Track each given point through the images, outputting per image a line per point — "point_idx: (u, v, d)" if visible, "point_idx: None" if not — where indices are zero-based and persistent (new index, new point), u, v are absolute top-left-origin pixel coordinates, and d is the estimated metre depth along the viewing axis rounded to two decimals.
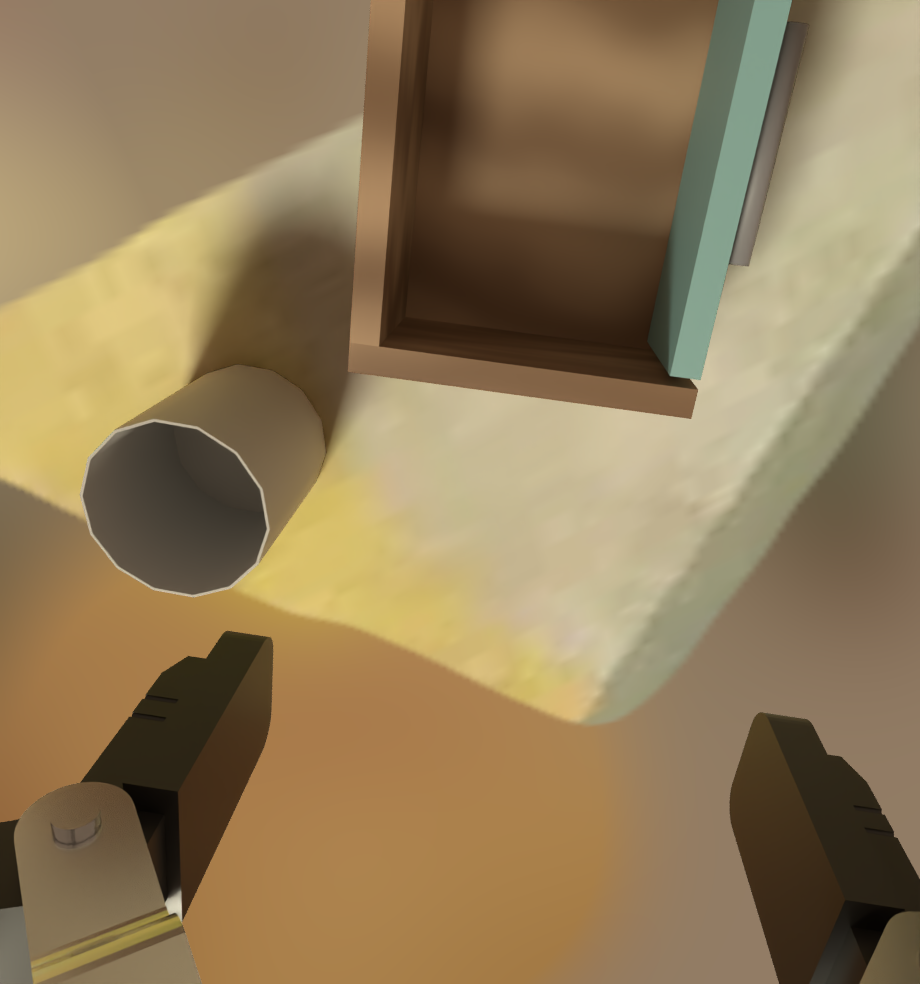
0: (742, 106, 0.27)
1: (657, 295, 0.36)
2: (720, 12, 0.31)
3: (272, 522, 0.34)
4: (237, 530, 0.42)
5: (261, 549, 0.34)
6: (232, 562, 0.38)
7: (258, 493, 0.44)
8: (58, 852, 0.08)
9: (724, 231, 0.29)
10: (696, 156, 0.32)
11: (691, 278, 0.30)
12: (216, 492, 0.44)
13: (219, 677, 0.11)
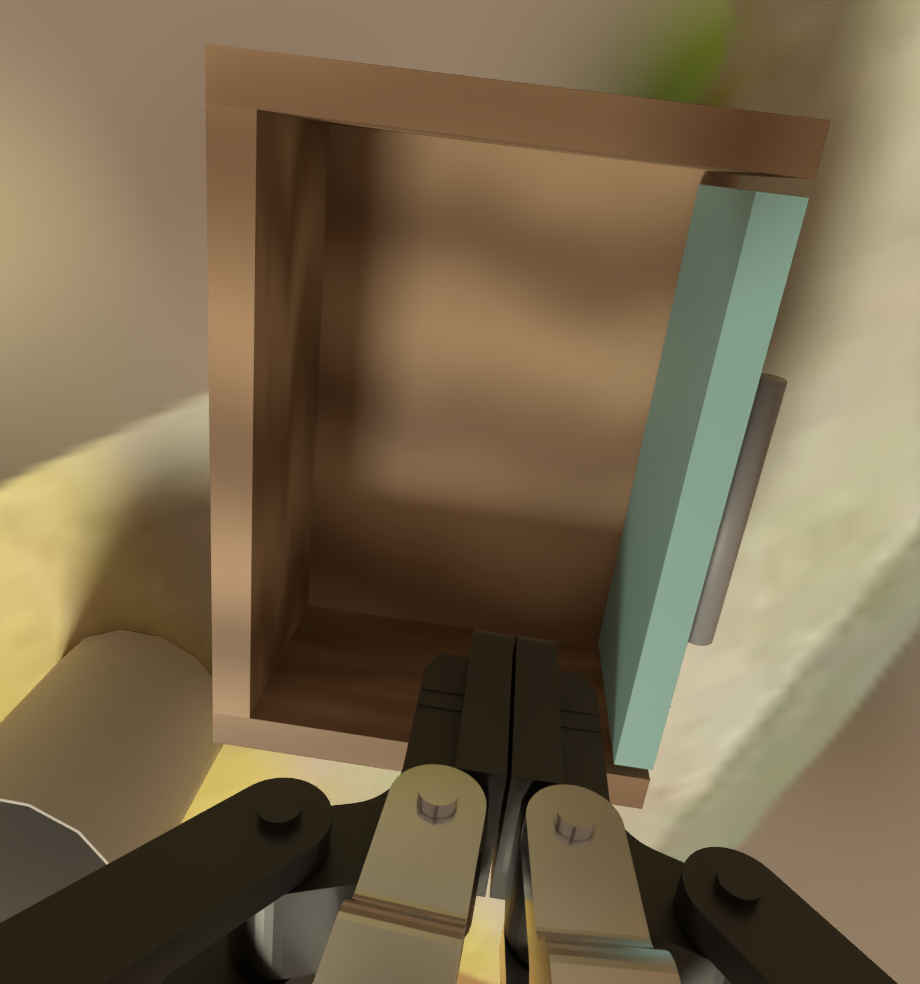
0: (699, 482, 0.21)
1: (609, 596, 0.30)
2: (679, 301, 0.25)
3: None
4: None
5: None
6: None
7: None
8: (437, 829, 0.09)
9: (679, 616, 0.22)
10: (649, 475, 0.25)
11: (638, 662, 0.23)
12: None
13: (490, 672, 0.12)
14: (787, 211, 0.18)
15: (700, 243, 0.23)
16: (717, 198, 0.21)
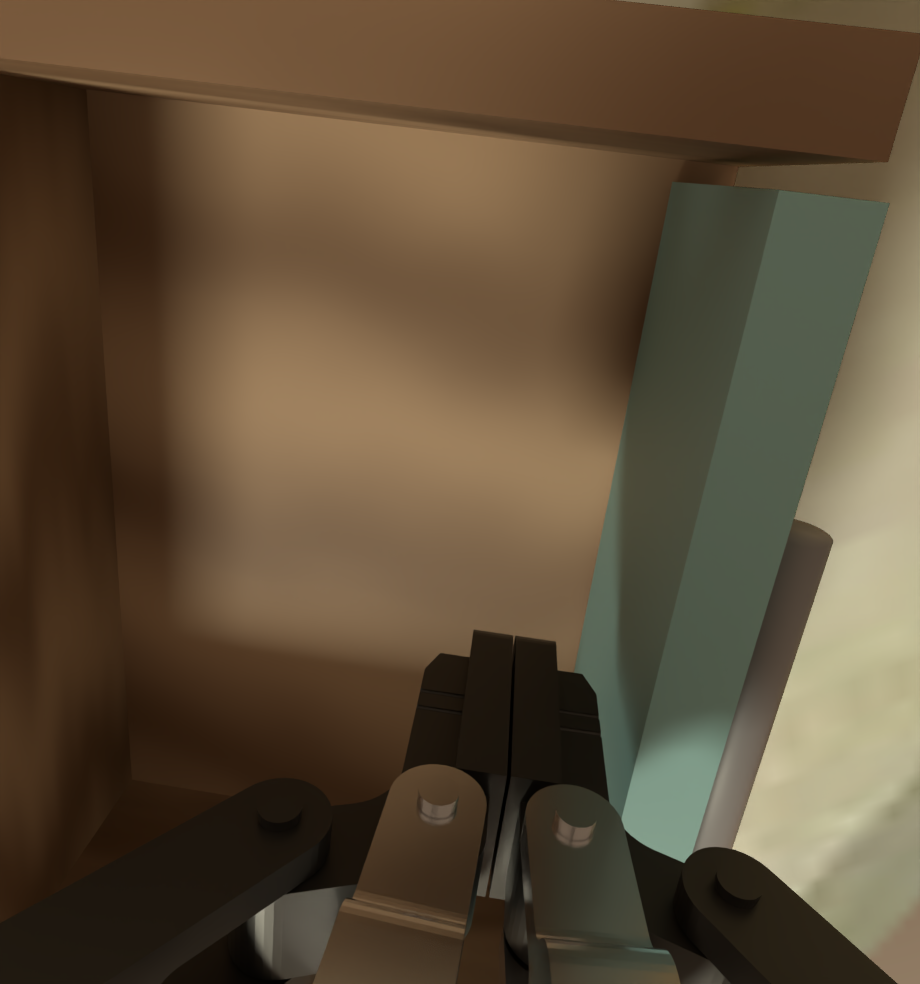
0: (674, 720, 0.11)
1: None
2: (643, 369, 0.15)
3: None
4: None
5: None
6: None
7: None
8: (437, 829, 0.09)
9: None
10: (600, 643, 0.16)
11: None
12: None
13: (490, 672, 0.12)
14: (843, 231, 0.09)
15: (674, 280, 0.13)
16: (701, 204, 0.12)
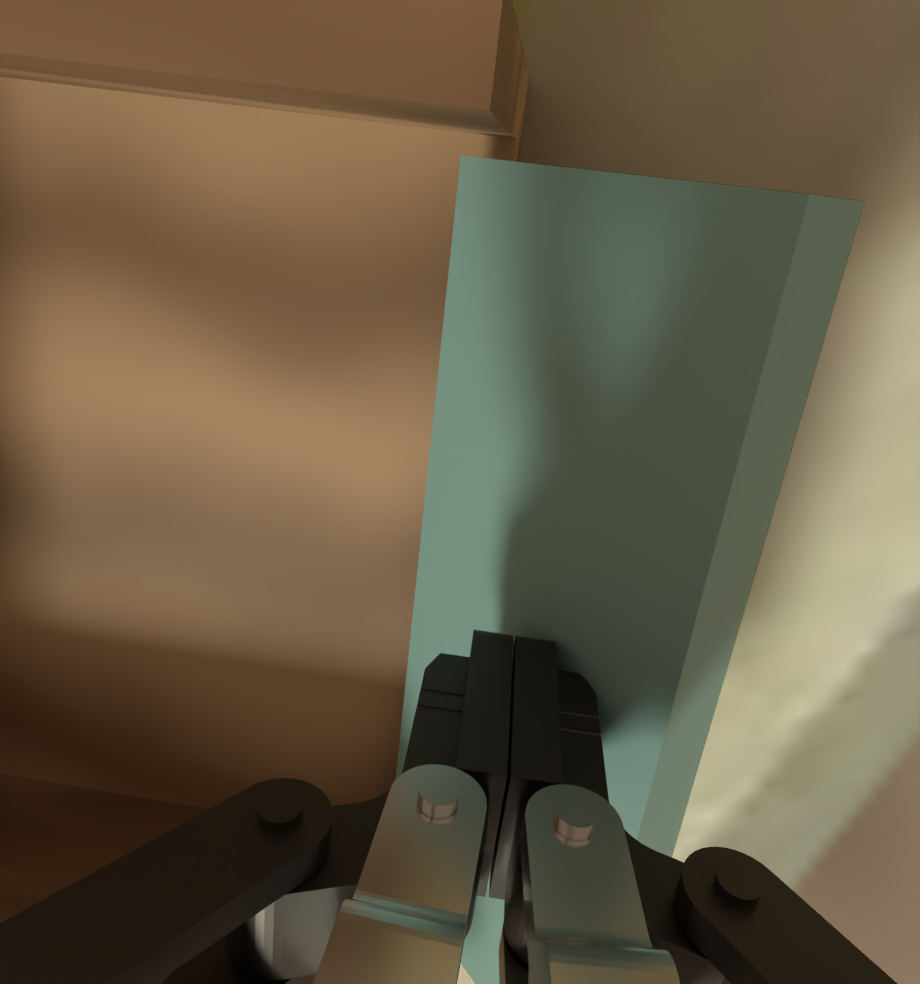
0: (688, 700, 0.12)
1: None
2: (469, 359, 0.14)
3: None
4: None
5: None
6: None
7: None
8: (438, 829, 0.09)
9: None
10: None
11: None
12: None
13: (490, 672, 0.12)
14: (838, 229, 0.09)
15: (526, 267, 0.13)
16: (575, 190, 0.12)
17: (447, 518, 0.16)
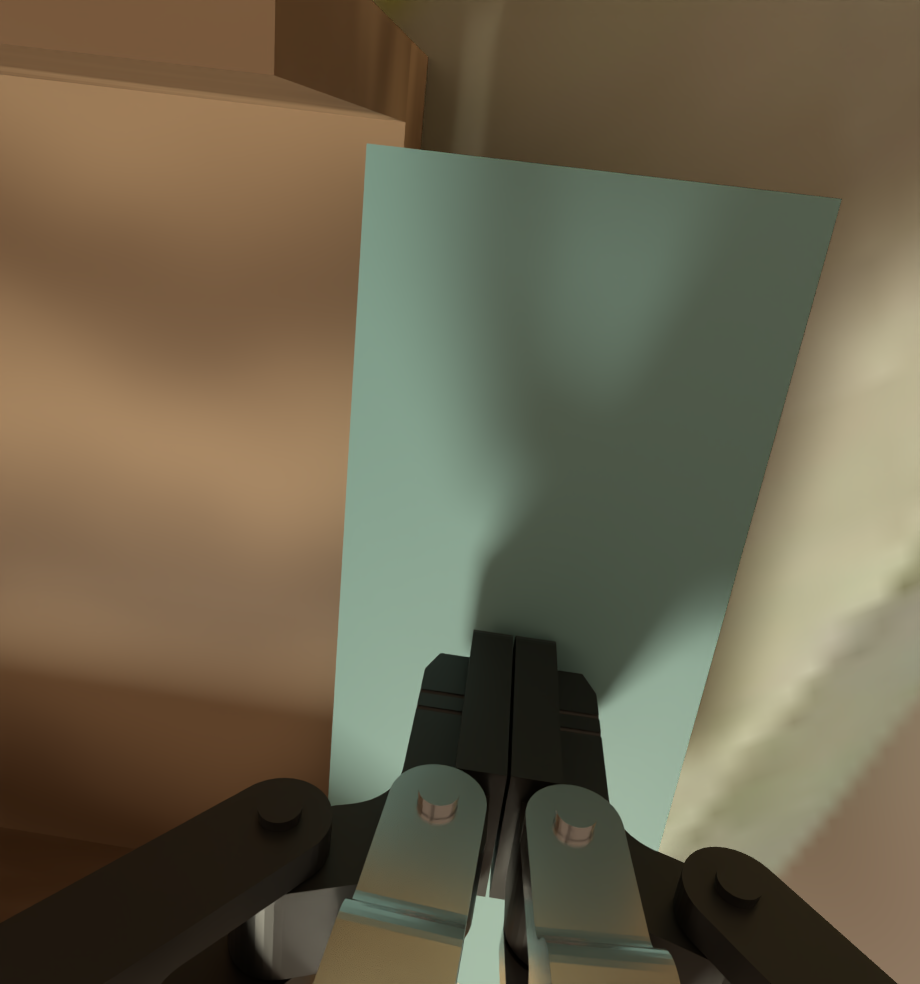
0: None
1: None
2: (402, 372, 0.13)
3: None
4: None
5: None
6: None
7: None
8: (438, 828, 0.09)
9: None
10: None
11: None
12: None
13: (490, 672, 0.12)
14: None
15: (484, 269, 0.12)
16: (551, 187, 0.11)
17: (384, 545, 0.14)
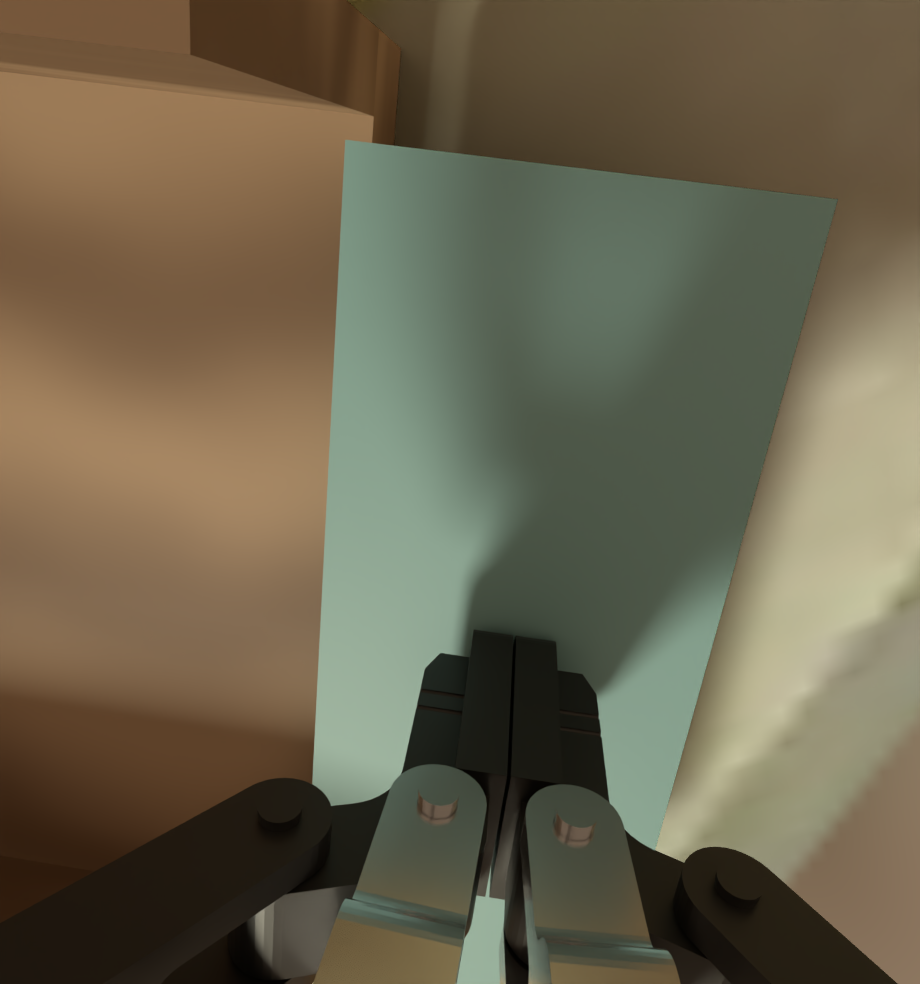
0: None
1: None
2: (389, 380, 0.12)
3: None
4: None
5: None
6: None
7: None
8: (437, 829, 0.09)
9: None
10: None
11: None
12: None
13: (490, 672, 0.12)
14: None
15: (479, 272, 0.12)
16: (551, 188, 0.11)
17: (370, 561, 0.14)
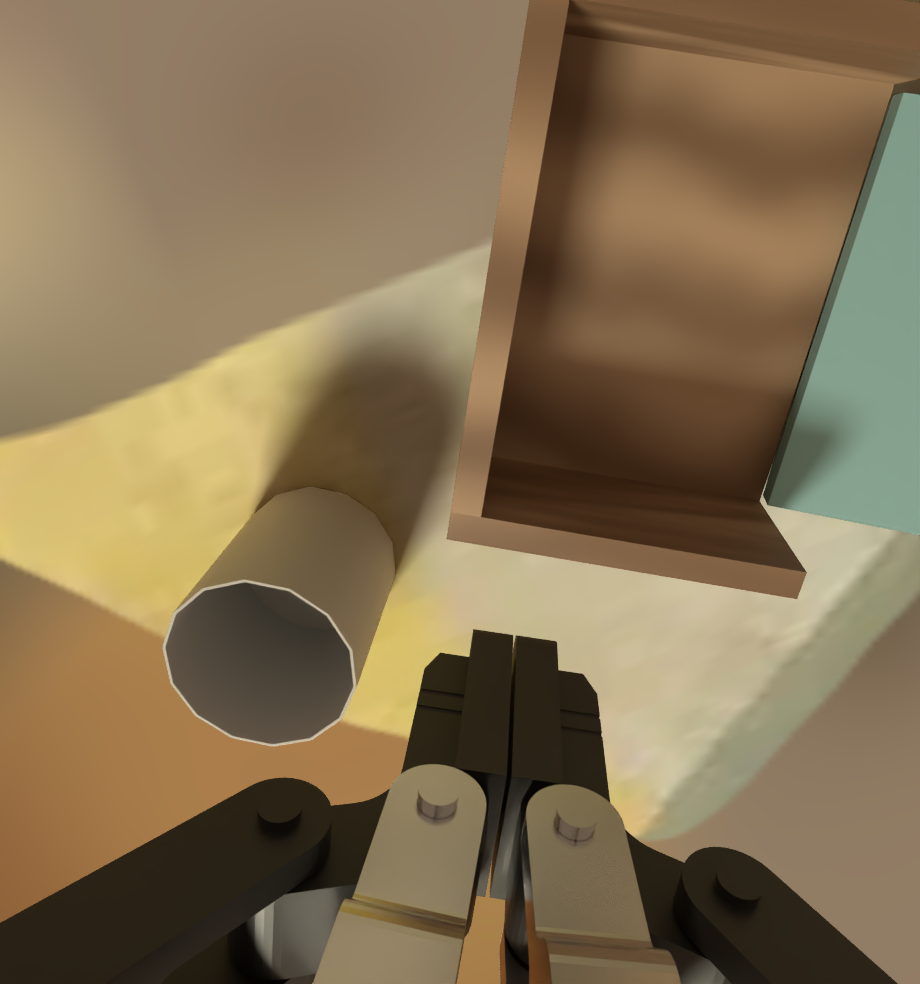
0: None
1: (786, 461, 0.34)
2: (896, 194, 0.30)
3: (358, 678, 0.34)
4: (305, 654, 0.41)
5: (346, 705, 0.34)
6: (307, 701, 0.37)
7: None
8: (437, 829, 0.09)
9: None
10: (889, 338, 0.32)
11: None
12: (281, 609, 0.43)
13: (490, 672, 0.12)
14: None
15: None
16: None
17: (864, 280, 0.31)
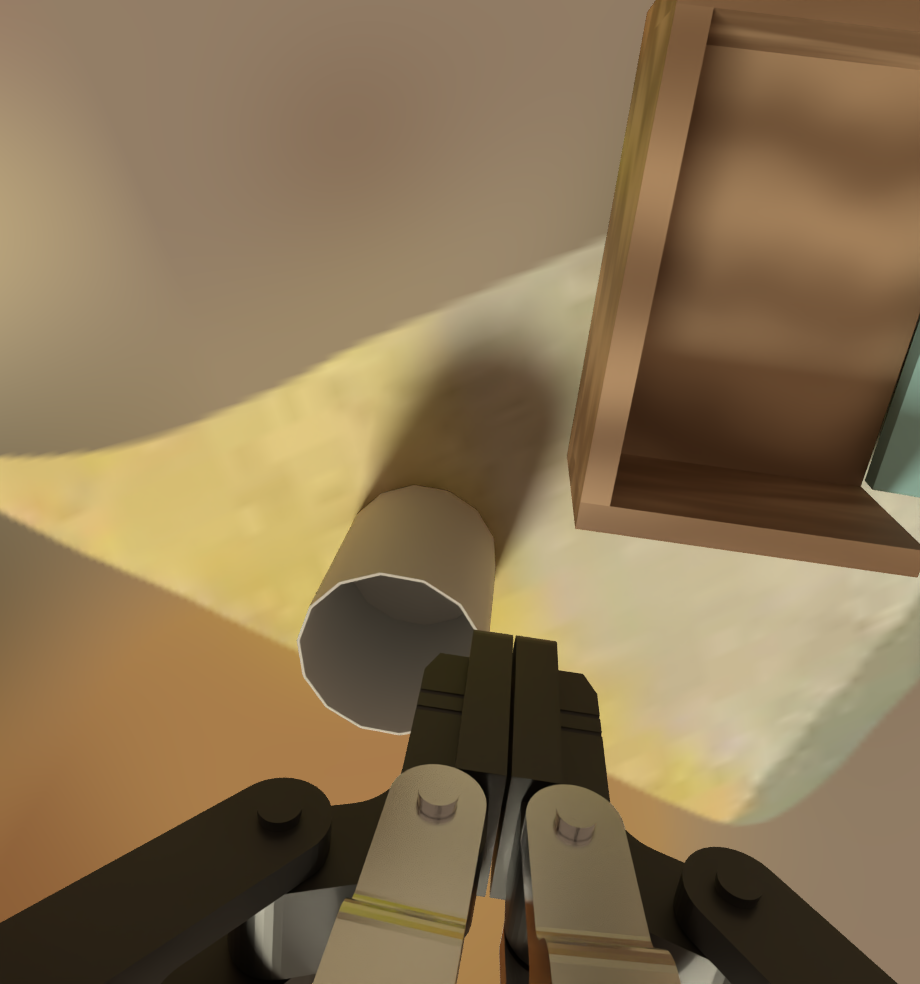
0: None
1: (892, 446, 0.36)
2: None
3: None
4: (413, 648, 0.42)
5: None
6: None
7: (426, 607, 0.44)
8: (437, 829, 0.09)
9: None
10: None
11: None
12: (384, 605, 0.44)
13: (490, 672, 0.12)
14: None
15: None
16: None
17: None
